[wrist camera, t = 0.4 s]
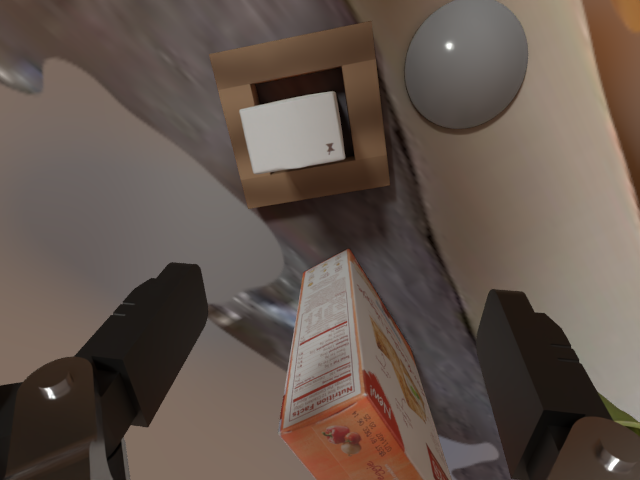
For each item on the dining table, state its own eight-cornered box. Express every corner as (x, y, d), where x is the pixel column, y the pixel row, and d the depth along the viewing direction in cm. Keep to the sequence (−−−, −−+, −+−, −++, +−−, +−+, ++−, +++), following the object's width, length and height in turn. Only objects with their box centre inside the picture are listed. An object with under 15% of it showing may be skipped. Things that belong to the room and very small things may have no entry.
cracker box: (413, 344, 43) (479, 555, 23) (365, 365, 44) (390, 582, 25) (352, 243, 39) (370, 397, 19) (301, 270, 40) (270, 440, 21)
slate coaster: (398, 12, 31) (399, 11, 31) (525, -14, 30) (529, -16, 30) (409, 137, 35) (411, 138, 34) (524, 116, 34) (527, 117, 33)
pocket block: (217, 56, 33) (208, 54, 31) (368, 25, 32) (371, 20, 30) (253, 201, 38) (248, 208, 35) (386, 179, 36) (390, 185, 34)
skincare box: (335, 89, 34) (336, 89, 22) (343, 139, 35) (347, 161, 24) (268, 102, 34) (236, 108, 23) (278, 150, 36) (253, 178, 25)
